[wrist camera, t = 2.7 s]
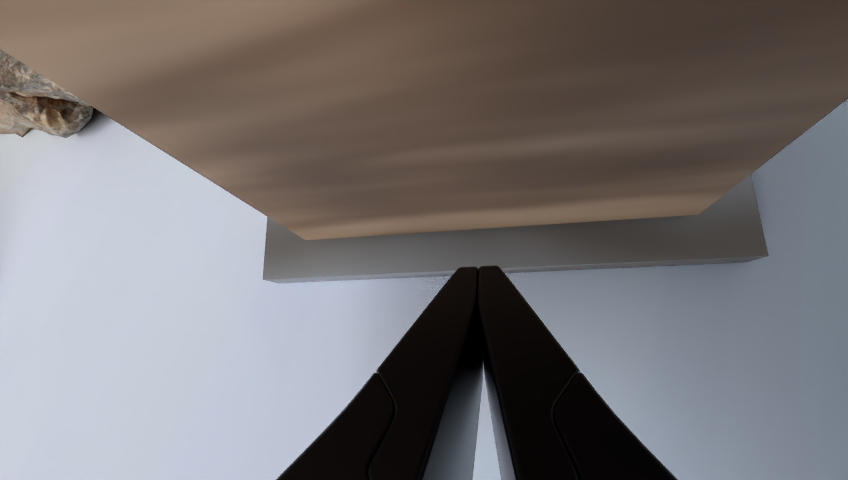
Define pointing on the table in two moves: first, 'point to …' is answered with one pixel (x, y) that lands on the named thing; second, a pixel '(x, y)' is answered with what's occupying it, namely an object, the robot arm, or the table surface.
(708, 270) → the table surface
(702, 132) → the walnut plank
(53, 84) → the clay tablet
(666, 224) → the oak floor board
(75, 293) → the table surface
